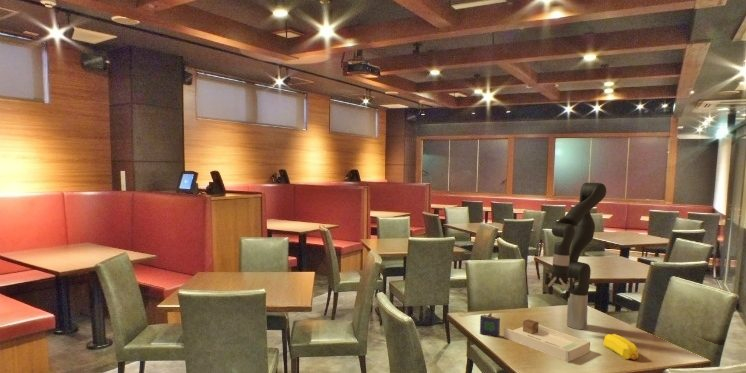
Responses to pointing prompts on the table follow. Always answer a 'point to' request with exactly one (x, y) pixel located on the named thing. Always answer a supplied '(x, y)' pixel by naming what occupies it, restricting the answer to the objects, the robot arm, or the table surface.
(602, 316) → the table surface
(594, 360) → the table surface
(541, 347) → the track
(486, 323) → the flask
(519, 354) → the table surface
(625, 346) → the yellow banana
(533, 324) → the walnut block
